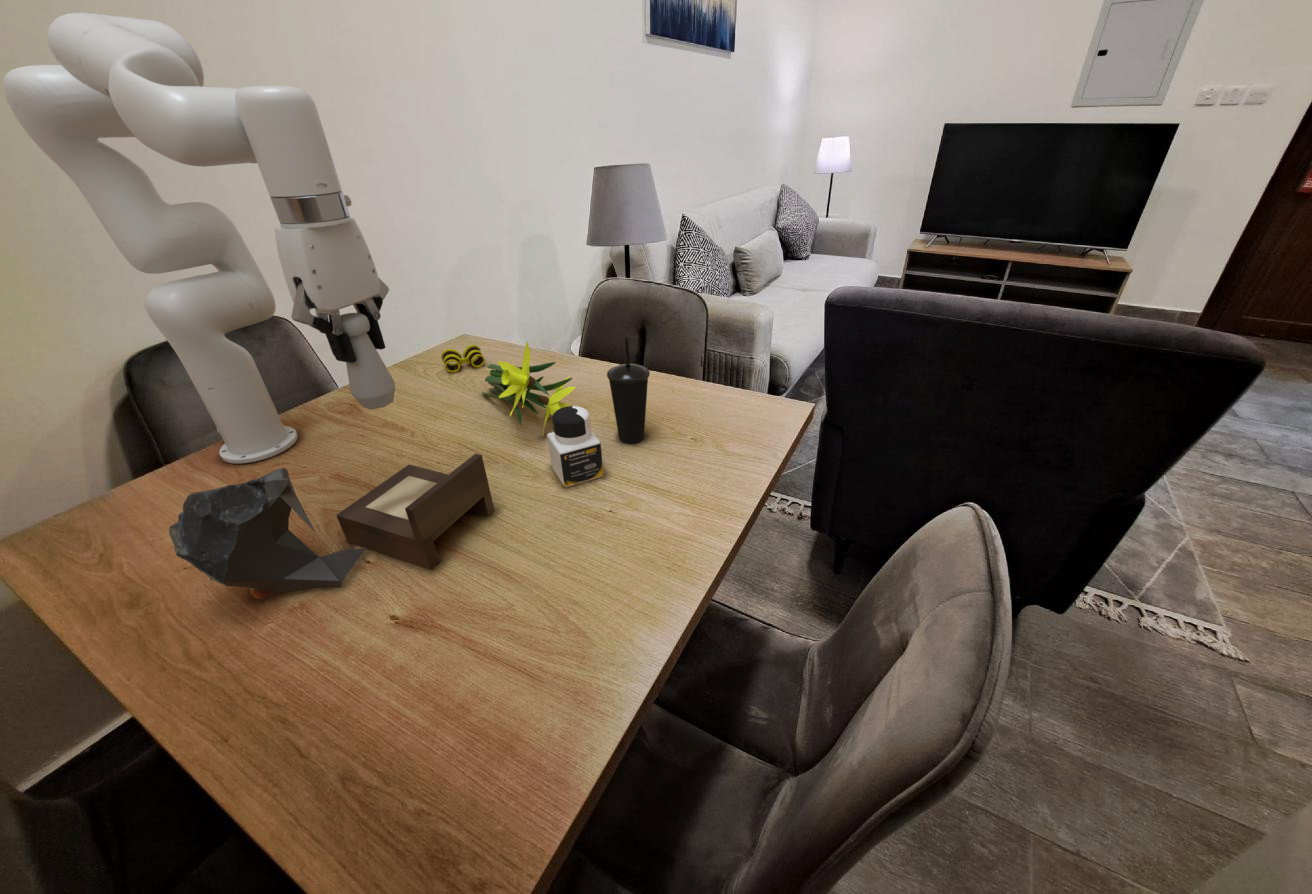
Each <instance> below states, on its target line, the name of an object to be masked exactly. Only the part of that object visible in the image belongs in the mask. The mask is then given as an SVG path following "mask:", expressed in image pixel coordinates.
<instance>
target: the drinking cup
mask: <svg viewBox="0 0 1312 894" xmlns="http://www.w3.org/2000/svg"><path fill="white" fill-rule="evenodd" d="M629 341H630V339H629V338H628V337H624V354H625V355H624V357H625V363H622V364H619V365H615V366H613V367H611V368H610V369H608V370H607V372H606V378H607V379H608V382H609V387H610V393H611V399H612V404H613V410H614V417H615V423H616V429H617V435H618V439H619V441H620V442H621V443H623V444H627V445H635V444H639V443H641V442H642V441H643V440H644V439H645V429H646V428H645V426H646V415H647V414H646V413H647V400H648V385H649V382H648V381H649V377H650V373H651V372H650V370H649V368H647V367H646V366H644V365H641V364H636V363H630V362H631V361H630V360H631V359H630V344H629V343H630V342H629Z"/></svg>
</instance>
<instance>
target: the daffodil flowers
mask: <svg viewBox="0 0 1312 894" xmlns="http://www.w3.org/2000/svg"><path fill="white" fill-rule="evenodd" d="M530 364H531V349H530V346H529V342H528V341H525V345H524V351H523V356H522V362H521V366H517V365H515V364H513V363H510V362H507V361H502V360H497V364H495V363H489V364H488V365H487V367H486V368H487V369H491V370H490V371H489V375H486V377H485V379H484V382H487V383H488V385H490V387H489V388H488V390H489V391H491V392H493V393H496V394H493V393H487V392H484V391H483V392H482V391H481V395H483V396H486V397H490V398H495V399H499V400H500V401H501V400H506V401H507V402H508V404H510V405H511V406H512V409H511V411H510V413H509V417H511V416H512V414H513V412H514V411H515V415H516V418H517V421H518V425H519V426H522V421H523V414H522V410H521V409H520V408H519V407H518V406H517V405H518V403H520V404H522V406H521V407H522V409H523V408H524V406H525V407H526V408H527V409H528V410H530V411H531V412H533V413H534V414H535V415H538V416H539V412H538V411H537V409H536V408H535V407H534V406H533V404H532V403H534V404H535V405H537V406H539V407H541V408H544V409H545V411H544V413H545V414H544V415H545V416H544V421H543V429H542V435H541V436H542V438H543V437H544V434H545V431H544V430H545V426H546V423H547V420H548V418H550V415H551V416H552V415H553V414H554V413H555V411H557V410H558V409H560V408H563V407H567V406H572V405H571V404H570V403H564V402H560V401H561V400H563V399H564V398H566V396H568V395H569V394H570V393H571V392H573V391H574V390H575V389H576V388H577V386H568V387H565V385H566V384H567V383H569V382H570V381H572V380H573V377H571V375H568V376H567V377H565V378H564V379H563V380H560V381H558V382H554V383H550V384H545V385H542V384H540V382H541V381H542V380H543V379H544V378H545V376H544V375H542V376H540V377H538V378H536V379H535V377H533V376H531V375H530V373H531V374H532V373H540V372H542V371H544V370H546V369H547V370H548V369H549V368H550V367H552V366H554V365H555V364H556V361H552V362H547V363H542V364H536V365H530ZM491 387H493V388H491ZM553 390H555V391H553ZM532 391H538V392H542V393H543V394H545V395H542V394H538V393H535V392H532ZM549 391H553V393H552V394H551V396H550V394H549ZM546 395H547V396H546ZM548 396H549V397H548ZM513 401H514V402H513ZM529 401H530V402H529Z"/></svg>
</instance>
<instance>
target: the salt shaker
mask: <svg viewBox="0 0 1312 894" xmlns="http://www.w3.org/2000/svg"><path fill="white" fill-rule="evenodd" d="M340 319H341V325H342V333H347V334H348V336H349V338H350V341H351V344H352V347H353V350H354V353H355V356H356V359H357V360H356V362H353V363H348V362H345V365H346V372H347V377H348V385H349V389H350V394H351V396H352V398H353V399H355V400H356V402H357V403H359V404H360V406H361V407H362V408H365V409H368V410H377V409H382V408H387V406H389V405H391V404H392V403H393V402H394V401H395V394H396V393H395V392H396V382H395V380H394V378H393V376H392V374H391V373H390V371H389V369H388V367H387V366H386V365H385V363H384V360H383V359H382V357H381V355H380V354H379V352H378V349H376V348H375V347H374V345H373V343H372V342H371V340H370V338H369V336H368V335H367V333H366V332H368V331H369V330H370V323H369V320H368V318H367V317H366V316H365V315H363V314H361V313H357V312H347V313H343V314H340Z"/></svg>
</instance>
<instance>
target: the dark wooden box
mask: <svg viewBox="0 0 1312 894" xmlns="http://www.w3.org/2000/svg"><path fill="white" fill-rule="evenodd" d="M488 480H489V479H488V475H487V471H486V466H485V463H484V458H483V455H482V454H480V453H474V454H472V455H471V456H470V457H469V458H467V460H465V461H464V462H463V463H461V464H460V465H459V466H457V467H456V468H455V469H453V470H452V471H450V473H444V472H441V471H438V470H433V469H429V468H425V467H421V466H418V465H413V464H407V465H405V466H404V467H403V468H401V469H400V470H399V471H397V472H396V473H394V474H392V475H391V476H389V478H387V479H386V480H384V481H383V482H381V483H379V485H377V486H375V487H374V488H373V489H371V490H370V491H368V492H367V493H365V494H364V495H362V496H361V497H360V498H358V499H357V500H356V501H354V502H352V503H351V504H350V505H348V506H347V507H345V508H344V509H343V510H341V511H340V512H338V513H336V515H335V517H336V519H337V521H338V524H339V525H340V528H341V530H342V533H343V534H344V537H345V539H346V541H347V543H350V544H353V545H356V546H359V547H362V548H364V549H365V548H366V549H367V550H371V551H374V552H377V553H379V554H383V555H386V556H388V557H391V558H394V559H397V560H401V561H403V562H406V563H410V564H413V565H415V566H419V567H421V568H424V569H428V570H430V571H432V570H434V569H435V568H436V567H437V566H438V565H439V564H440V559H439V556H438V552H437V550H436V546H435V543H434V541H435V540H437V539H438V538H439V537H440V536H441V535H442V534H444V533H445V532H446V531H447V530H448V529H449V528H450V527H451V526H452V525H454V524H455V523H456V522H457V521H458V520H459V519H460V518H461V517H462V516H463V515H465V514H466V513H467V512H472V513H475V514H479V515H482V516H486V517H490V515H492V514H493V513H494V512H495V511H496V509H495V506H494V501H493V497H492V492H491V489H490V483H489V481H488Z"/></svg>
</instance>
